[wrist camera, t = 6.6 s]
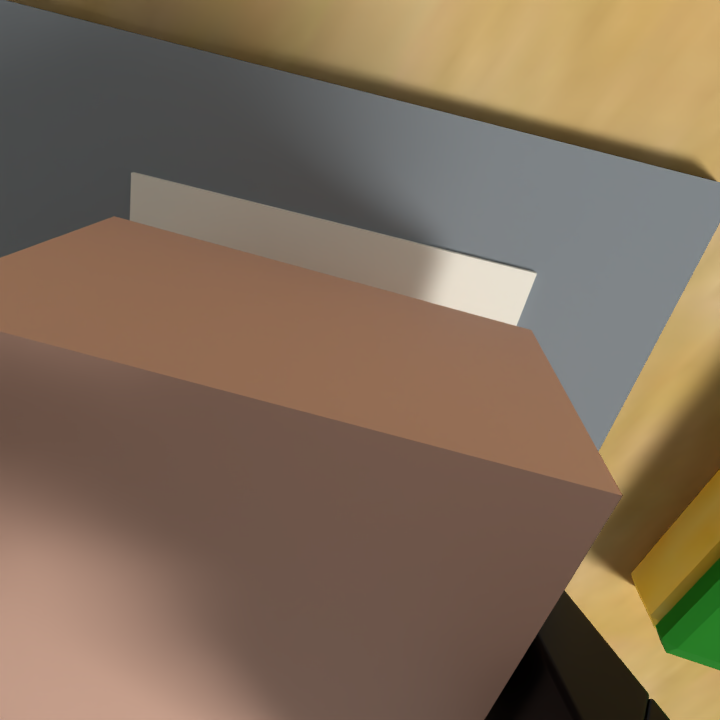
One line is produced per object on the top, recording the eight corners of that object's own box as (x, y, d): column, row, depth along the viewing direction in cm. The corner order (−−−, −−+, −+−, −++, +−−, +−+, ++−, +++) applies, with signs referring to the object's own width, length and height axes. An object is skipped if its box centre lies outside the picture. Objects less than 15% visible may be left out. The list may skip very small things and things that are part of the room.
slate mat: (719, 182, 9) (742, 188, 9) (494, 621, 15) (498, 644, 14) (1, -1, 9) (-30, -10, 8) (35, 514, 14) (18, 532, 14)
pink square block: (531, 329, 8) (623, 495, 5) (409, 609, 11) (408, 841, 8) (114, 216, 8) (-118, 300, 5) (100, 532, 11) (-47, 732, 8)
